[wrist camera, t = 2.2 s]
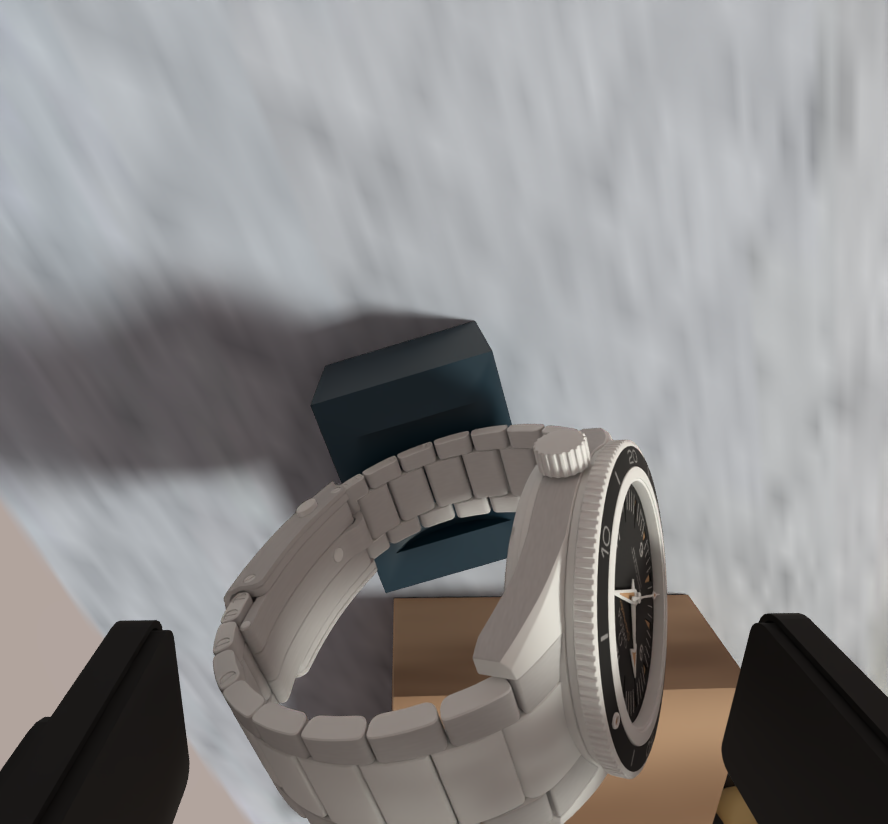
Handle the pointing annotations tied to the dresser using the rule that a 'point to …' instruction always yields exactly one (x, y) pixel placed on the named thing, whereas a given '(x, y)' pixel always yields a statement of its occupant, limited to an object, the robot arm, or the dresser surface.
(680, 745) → the walnut block
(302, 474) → the dresser surface
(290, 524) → the watch
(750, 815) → the beige rounded piece
